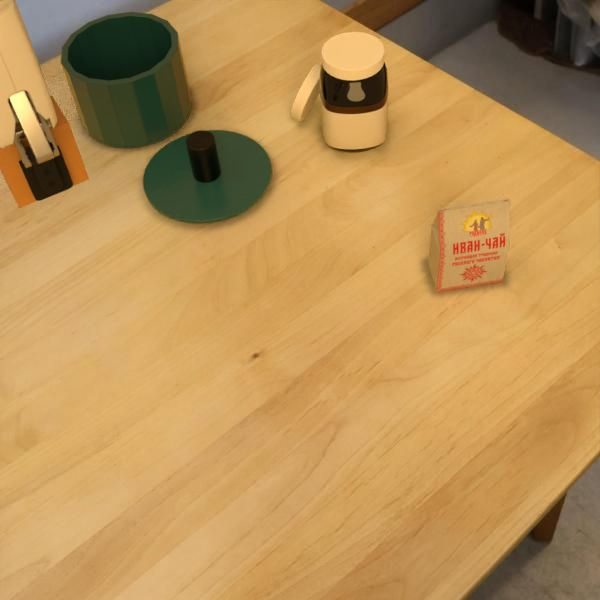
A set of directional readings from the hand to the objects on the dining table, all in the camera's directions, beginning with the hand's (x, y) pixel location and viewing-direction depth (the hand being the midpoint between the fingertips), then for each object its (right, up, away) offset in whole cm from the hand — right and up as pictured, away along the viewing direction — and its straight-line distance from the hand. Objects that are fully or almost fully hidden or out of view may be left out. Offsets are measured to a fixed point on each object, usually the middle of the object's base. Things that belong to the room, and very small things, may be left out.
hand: (44, 173), depth 70 cm
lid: (+10, +4, +28) cm, 30 cm away
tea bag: (+38, -8, +18) cm, 42 cm away
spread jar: (+26, +10, +32) cm, 42 cm away
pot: (+1, +13, +37) cm, 39 cm away
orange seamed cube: (0, 0, +1) cm, 1 cm away
